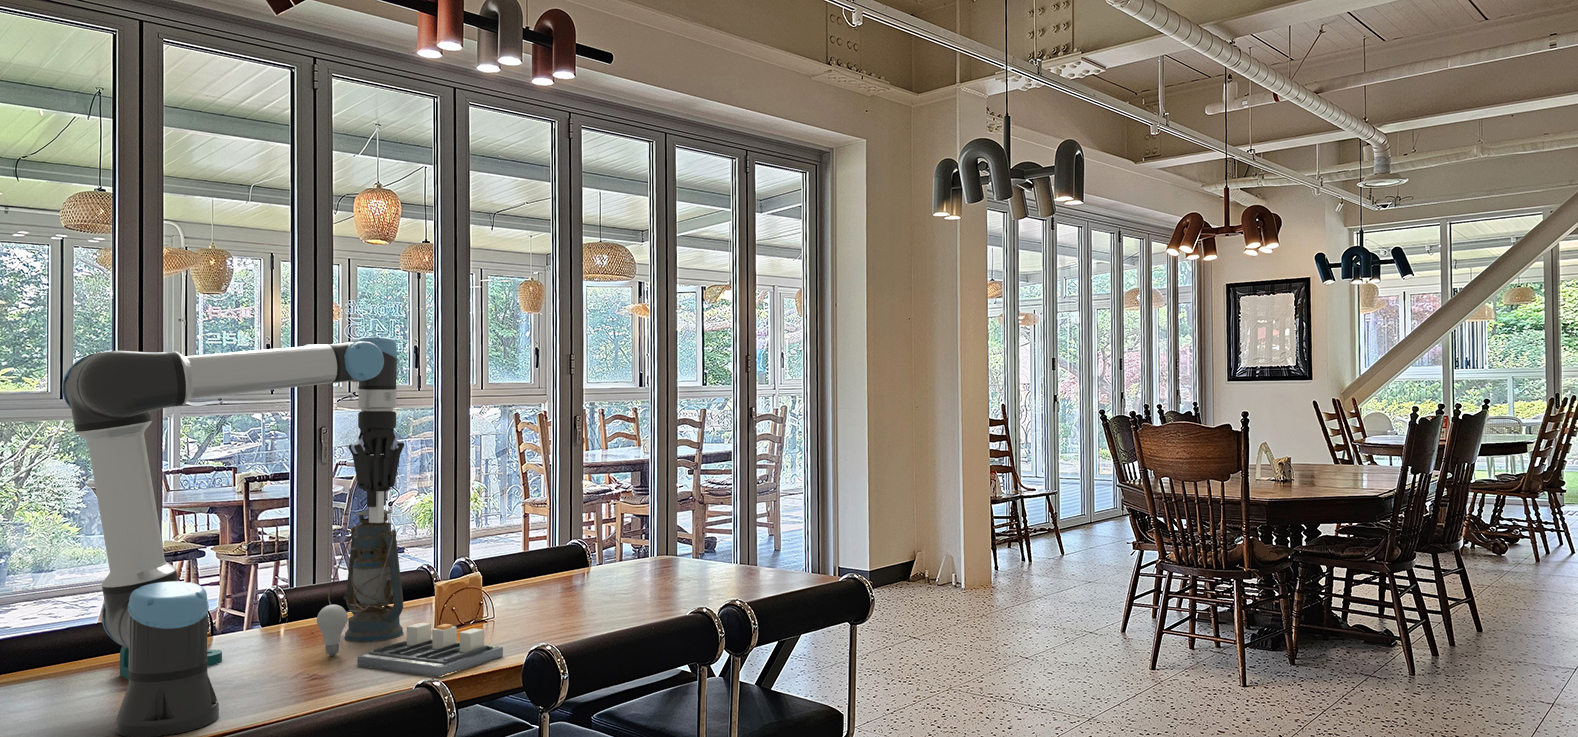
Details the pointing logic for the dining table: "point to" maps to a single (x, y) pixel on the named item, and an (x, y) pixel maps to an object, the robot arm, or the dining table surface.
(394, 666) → the panel
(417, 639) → the block
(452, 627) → the block
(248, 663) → the dining table surface
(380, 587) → the lantern
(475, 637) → the block
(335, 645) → the lightbulb
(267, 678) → the dining table surface
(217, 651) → the bracket
